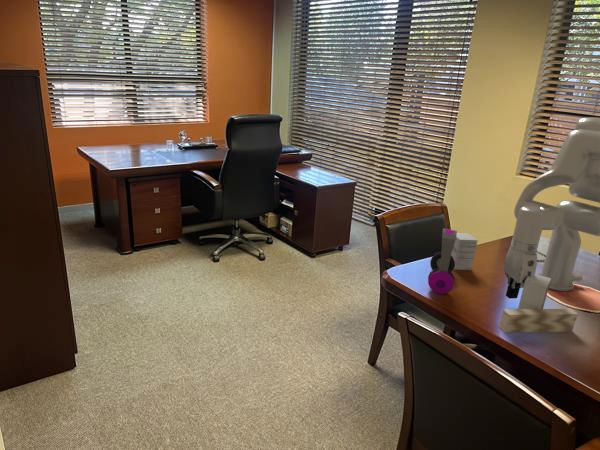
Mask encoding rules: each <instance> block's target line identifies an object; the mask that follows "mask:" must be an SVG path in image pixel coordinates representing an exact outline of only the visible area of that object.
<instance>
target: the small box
mask: <svg viewBox="0 0 600 450" xmlns="http://www.w3.org/2000/svg"><path fill="white" fill-rule="evenodd" d="M550 282H551V278H548V277H544V276H541V275H537V273H535V276H534V277H530V276H528V277H527V279H526V280H525V284H524V287H523V288H522V292H521V296H520V298H519V299H520V300H519V303H518V307H517V309H544V306H545V302H546V299H547V295H548V293H549V289H550V288H549V286H550Z"/></svg>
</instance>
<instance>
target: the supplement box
mask: <svg viewBox="0 0 600 450" xmlns="http://www.w3.org/2000/svg"><path fill="white" fill-rule="evenodd" d="M477 245H478V239H477V238H476V237H474V236H473V235H472V234H471V233H467V232H457V235H456V240H455V243H454V247H453V250H452V253H451V256H452V257H453V259H454V261H455V267H454V269H453V271H454V270H456V271H457V270H459V271H460V270H461V271H472V268H473V264H474V259H475V254H476V250H477Z"/></svg>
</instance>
